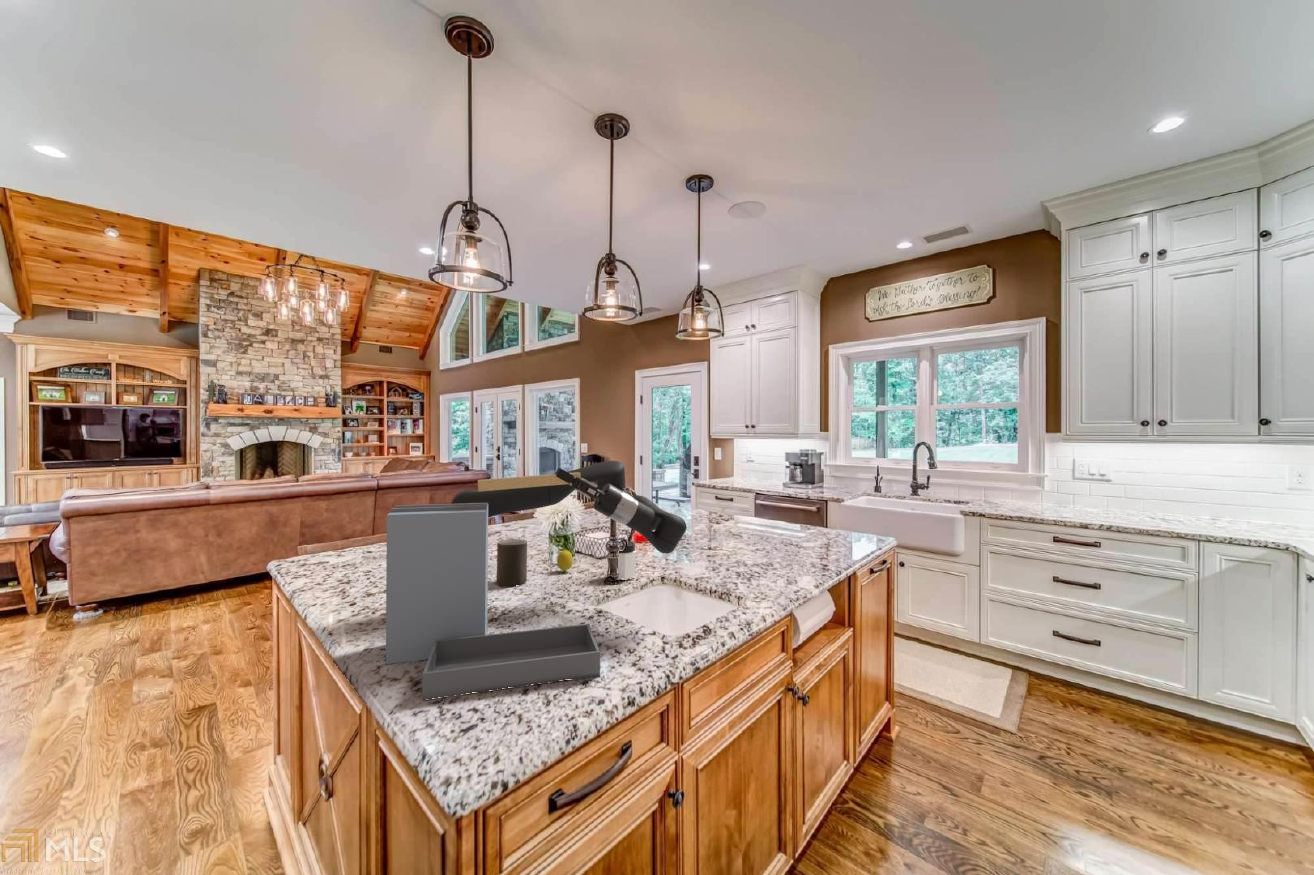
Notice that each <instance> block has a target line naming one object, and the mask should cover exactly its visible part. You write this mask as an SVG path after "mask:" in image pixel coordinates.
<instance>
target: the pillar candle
mask: <svg viewBox="0 0 1314 875" xmlns="http://www.w3.org/2000/svg"><path fill="white" fill-rule="evenodd" d="M496 546H497V548H496V552H497V553H496V580H495V583H496V585H497V586H499V587H502V586H506V587H505V588H507V587H508V586H509V587H508V588H510V587H511V588H512V586H515V587H516V585H520V586H523V585H525V584H526V583H527V582H526V581H527V580H528V541H527V540H526V539H522V538H521V539H519V538H516V539H515V538H510V539H501V540H499V541H497V545H496ZM525 582H526V583H525ZM524 583H525V584H524ZM522 584H523V585H522Z"/></svg>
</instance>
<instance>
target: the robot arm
mask: <svg viewBox="0 0 1314 875" xmlns="http://www.w3.org/2000/svg"><path fill="white" fill-rule="evenodd" d="M575 472H580V474H581V479H580V478H577V476H573V475H571V474H569V473H575ZM554 474H556V477H558V478H560V479H561V480H563V481H565V482H567V483H569V482H570V483H569V484H563V485H551V486H539V487H527V488H515V489H503V490H491V491H479V492H478V489H473V488H465V489H463V490H460V491H459V492H458V493H456V494H455V496H454V497H453V499H452V500H451V502H450V504H464V503H488V519H489V518H491V517H495V516H499V515H502V514H507V513H514V512H515V513H516V512H522V511H523V512H524V511H529V510H535V509H540V508H546V507H550V506H553V505H554V506H555V505H557V504H559V503H560V502H562V501H563V500H564V499H566V498H567V497H568V496H570V494H572V493H573V492H574V491H577V492H578V493H580V494H582V495H584V496H585V497H586V498H587V499H589V500H592V499H593V498H594V499H595V501H594V504H593V509H594V510H595V511H597V512H598V513H600V514H603V515H604V516H605V517H608V518H610V519H611V520H613V521H615V522H617V523H620V524H622V525H625V526H626V527H628V528H630V529H632V530H634V531H635V532H637V533H638V534H640V535H641V536H642V537H643V538H645V539H646V540H647V542H649V543H650V544H651V545H652V546H653V547H654V549H656V551H658V552H659V553H662V554H666V555H668V554H671V553H672V552H674V550H675V549H676V547H677V545H678V544H679V542H680V541H681V539H682V538H683V537H684V535H685V533H686V531H687V527H688V526H687V522H686V521H685V520H684V518H682V517H681V516H679V515H677V514H674V513H671V512H668V511H665V510H664V509H662V508H660V507H659V506H658V505H656V504H655V503H654V502H653V501H651V500H650V498H648V497H646V496H643V495H639V494H638V495H631V494H630V493H629V492H628V490H627V489H626V470H625V465H624V464H623V462H621V461H618V460H607V461H606V460H605V461H601V462H598V463H593V464H590V465H587V466H584V467H580V468H576V469H572V470H567V471H566V470H564V469H562V468H560V467H558V468H557V469H556V471H555V473H554ZM623 488H625V489H624V490H623Z"/></svg>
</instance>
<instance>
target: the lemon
mask: <svg viewBox="0 0 1314 875" xmlns="http://www.w3.org/2000/svg"><path fill="white" fill-rule="evenodd" d="M556 559H557V560H556V562H557V563H556V564H557V567H558V569H560V570H561V571H563V572H564V571H566V572H567V571H568V570H570V569H571V568H572V566H573V562H574V561H573V560H574V559H573V555H572V553H571V552H570V551H569V550H567V549H563V550H562V551H560V552H559V554H558V555H557V558H556Z"/></svg>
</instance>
